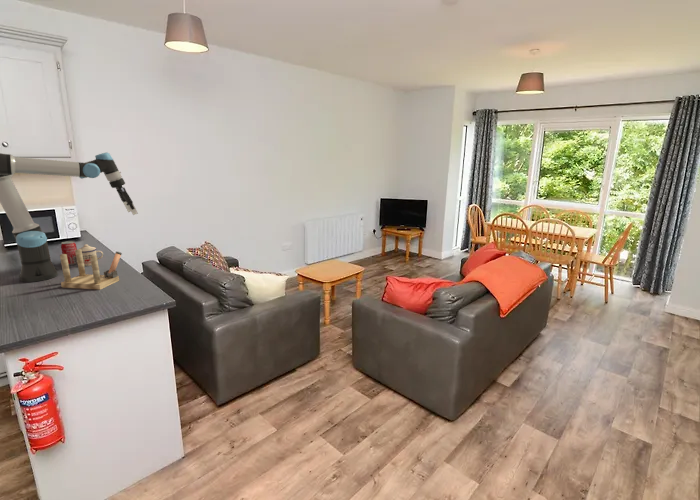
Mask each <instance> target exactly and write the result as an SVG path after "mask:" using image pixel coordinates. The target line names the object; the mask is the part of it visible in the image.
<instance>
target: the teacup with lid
mask: <svg viewBox="0 0 700 500" xmlns="http://www.w3.org/2000/svg"><path fill="white" fill-rule="evenodd" d="M79 249H81V250H82V256H83V261H84V267H90V266H91V267H92V264H91V258H90V256H94V255H96V256H97V260H100V259H102V258H103V256H104V252H103V251H101V250H97V248H96V247H94V246H90V245H89V244H87V243H86V244H84V245H83V246H82V247H80V248H79ZM97 253H100V254H101V256H99V257H98V255H97Z"/></svg>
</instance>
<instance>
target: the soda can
mask: <svg viewBox="0 0 700 500" xmlns="http://www.w3.org/2000/svg"><path fill="white" fill-rule="evenodd" d="M60 244H61V245H60V250H61V254H67V259H68V265H69V266H74V265H78V264H77V258H76V252H75V250H78V248H77V244H76V242H75V240H68V241H62V242H61V243H60Z"/></svg>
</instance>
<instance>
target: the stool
mask: <svg viewBox="0 0 700 500" xmlns="http://www.w3.org/2000/svg"><path fill="white" fill-rule="evenodd" d="M75 252H76V258H77V264H76V265H77V270H78V274H79V275H77V276H74V277H71V272H70V271H71V270H70V265H68V259H67V254H62V253H60V254H59V257H60V259H59V260H60V264H61V268H62V269H61V270H62V274H63V280H64V281H62V282H60V285H61V288H66V289H80V290H81V289H85V290H102V289H104V288H107V287H108V286H110V285H114V284H115V283H117V282H119V281H120V278H119V277H120V276H119V275H118V270H115V271H114V272H112V277H109V276H107V275H106V274H107V272H109V269H108V270H105V271H104V272H103V274H100V273H101V272H100V267H99V261H98V260H99V259H97V258H98V255H97V256H96V255H94V256H90V258H91V264H92V265H91V270H92V274H89V273H87V274H86V268H85V267H86V266H84V261H83V256H82V250H81V249H80V248H77V250H75Z"/></svg>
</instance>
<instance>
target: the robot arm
mask: <svg viewBox="0 0 700 500" xmlns="http://www.w3.org/2000/svg"><path fill="white" fill-rule="evenodd" d="M94 157H95V159H94V160H89V161H86V162H81V161H67V160H57V159H55V160H54V159H45V158H32V157H31V158H29V157H21V156H20V157H18V156H13V154H10V153H8V154H7V153H1V152H0V205H1V207H2V209H3V211H4V212H5V214H6V216H7V218H8V220H9V222H10V224H11V225H12V227H13V229H12V231H11V233H12V235H13V237H14V239H15V243H16V246H17V249H18V255H19V259H20V264H21V267H20V274H19V281H20V282H23V283H33V282H34V283H35V282H41V281H46V280H51V279H53V278H55V277H57V276H58V275H59V274H58V270H57V269H56V267H55V266H54V263H52V260H51V254H50V250H49V245H48V237H47V235H46V233H45V232H43V230H42V228H41V226H40V224H39V223H36V222H34V220H33V218H32V216H31V214H30V213H29V210H28V208H27V207H26V204H25V202H24V201H23V199H22V197H21V194H20V193H19V190H18V189H17V187H16V185H15V183H14V181H13V179H12V178H13V176H14V175H15V174H26V175H41V176H42V175H46V176H60V177H78V178H79V179H82V180H83V179H86V178H89V179H96V178H98V177H99V176H100V175H101V174H102V173H103V174H104V176H105V178H106V180H107V181H108V182H109V185H110V187H111V188H112V189H116V192H117V194H118V196H119V198H120V200H121V202H122V203H123V205H124V207H125V209H126V211H127V212H128V213H130V212H131V213H132V215H133V216H134V215H137V214H139V213H138V210H137V208H136V207H135V205H134V202H133V200H132V199H131V197H130V195H129V193H128V192H127V190H126V188H125V187H124V185H126V182H125V179H124V178H123V176H122V172H121V171H120V170H119V168H118V166H117V164H116V162H115V160H114V158H113V157H112V154H110V153H109V152H108V151H107V152H103V153H102V152H101V153H98V154H96V155H95V156H94Z"/></svg>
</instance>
